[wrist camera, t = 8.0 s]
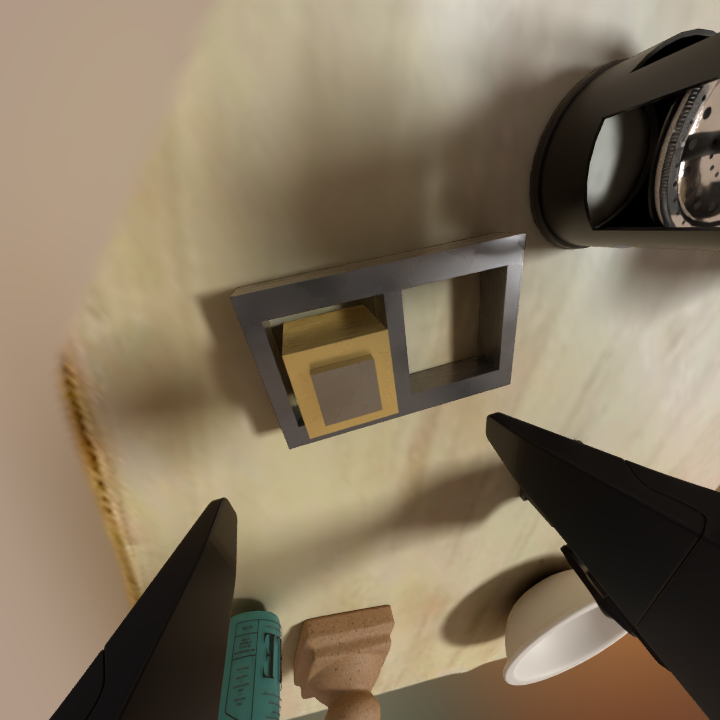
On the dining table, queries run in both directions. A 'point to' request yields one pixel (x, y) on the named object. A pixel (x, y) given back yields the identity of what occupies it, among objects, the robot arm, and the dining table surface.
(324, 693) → the candle holder
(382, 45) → the dining table surface
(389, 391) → the gold square block
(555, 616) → the soup bowl
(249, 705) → the beverage bottle
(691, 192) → the french press
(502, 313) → the grey flat rectangular tray
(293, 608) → the dining table surface
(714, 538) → the robot arm
